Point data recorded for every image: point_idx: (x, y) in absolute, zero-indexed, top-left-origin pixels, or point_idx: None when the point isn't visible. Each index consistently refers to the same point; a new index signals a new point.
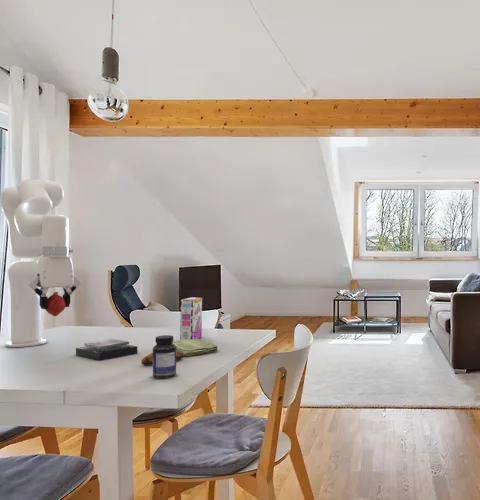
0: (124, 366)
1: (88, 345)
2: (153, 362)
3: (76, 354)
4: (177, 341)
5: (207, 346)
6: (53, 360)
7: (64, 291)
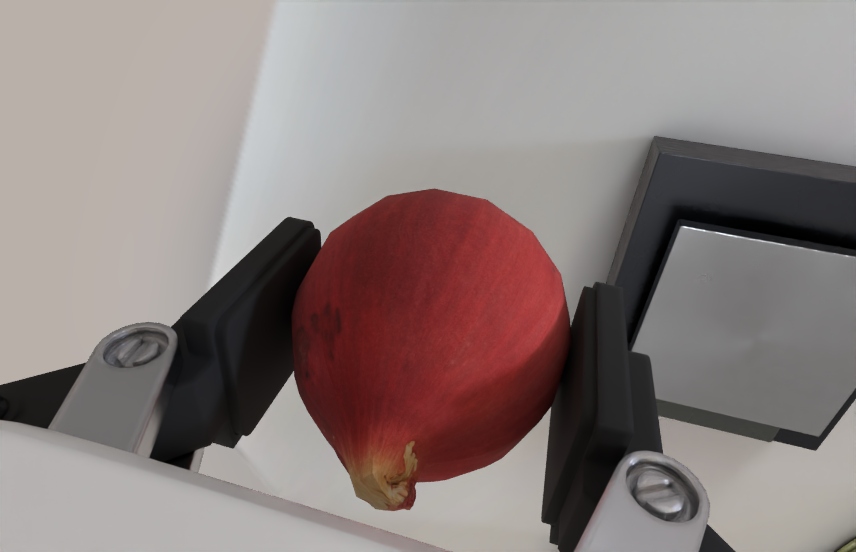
0: (535, 497)
1: (658, 274)
2: None
3: (650, 147)
4: None
5: None
6: (483, 149)
7: (591, 523)
